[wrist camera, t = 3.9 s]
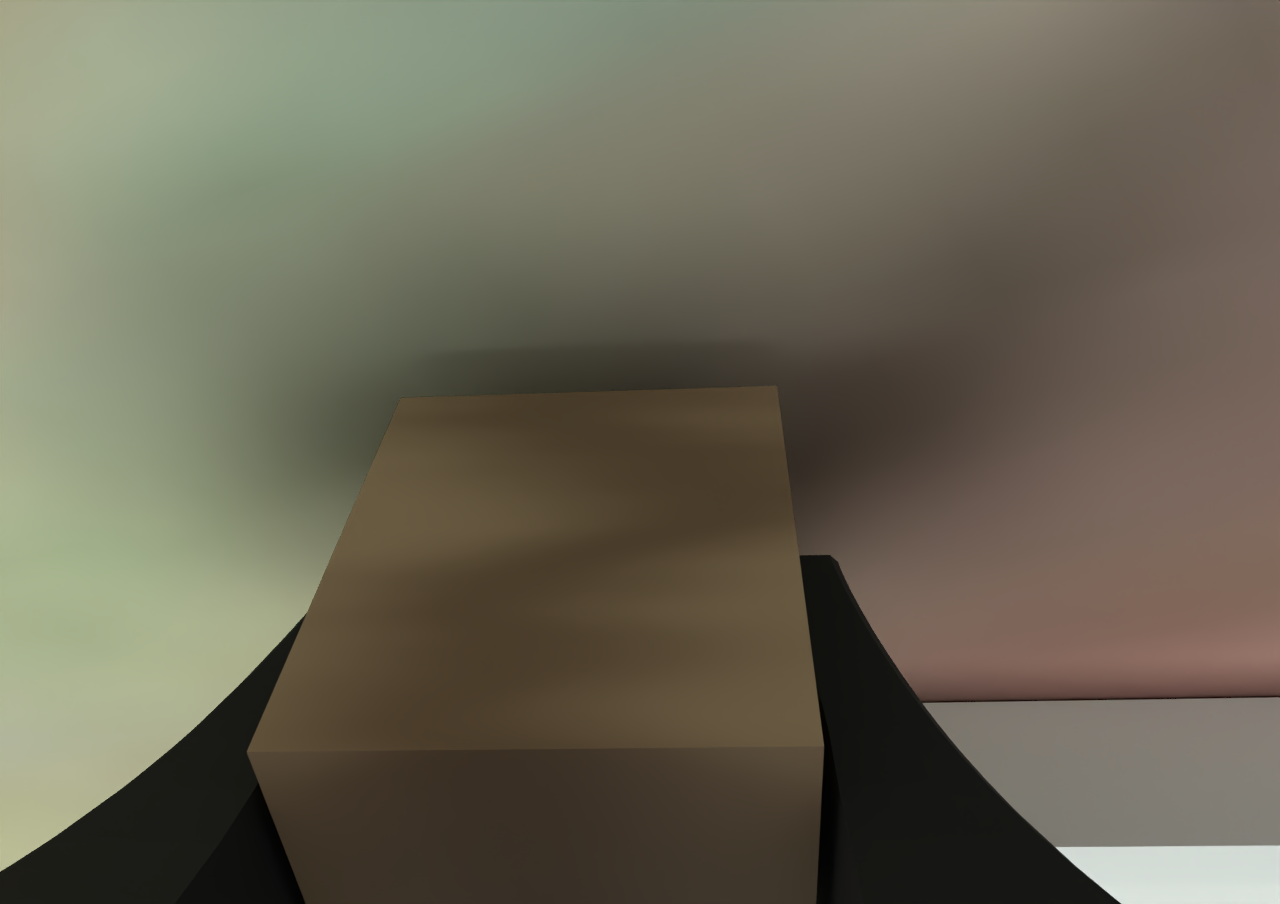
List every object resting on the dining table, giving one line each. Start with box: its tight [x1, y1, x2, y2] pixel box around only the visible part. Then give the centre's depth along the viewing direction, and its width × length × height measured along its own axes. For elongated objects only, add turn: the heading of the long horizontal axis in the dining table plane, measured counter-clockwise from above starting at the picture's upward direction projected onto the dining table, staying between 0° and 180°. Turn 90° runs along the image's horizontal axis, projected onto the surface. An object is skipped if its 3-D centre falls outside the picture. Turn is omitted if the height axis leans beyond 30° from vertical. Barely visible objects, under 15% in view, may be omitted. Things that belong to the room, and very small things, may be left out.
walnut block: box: [247, 386, 824, 904], centre depth 13 cm, size 5×5×6 cm
